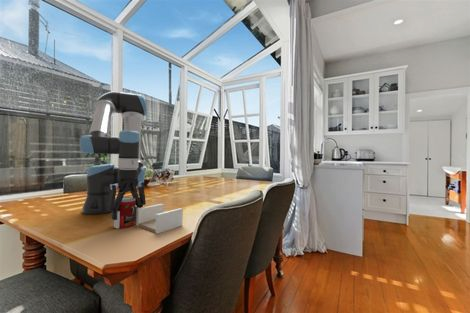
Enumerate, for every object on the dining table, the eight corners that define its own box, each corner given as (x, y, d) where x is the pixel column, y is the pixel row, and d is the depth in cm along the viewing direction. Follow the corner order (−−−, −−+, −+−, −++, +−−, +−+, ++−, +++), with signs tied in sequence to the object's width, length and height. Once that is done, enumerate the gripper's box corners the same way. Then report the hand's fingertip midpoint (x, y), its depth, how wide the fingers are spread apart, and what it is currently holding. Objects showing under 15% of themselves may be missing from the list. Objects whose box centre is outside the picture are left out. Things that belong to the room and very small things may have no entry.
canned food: (126, 229, 86) (127, 201, 86) (109, 227, 87) (109, 199, 87) (139, 223, 93) (139, 197, 93) (123, 221, 95) (123, 196, 95)
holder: (136, 225, 90) (136, 208, 90) (161, 219, 100) (161, 203, 100) (157, 233, 82) (158, 214, 82) (182, 225, 92) (182, 208, 92)
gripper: (106, 170, 79) (104, 234, 79) (155, 168, 96) (154, 221, 96) (96, 169, 83) (95, 229, 83) (145, 167, 100) (144, 217, 100)
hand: (126, 224), depth 89 cm, fingers closed on canned food, 8 cm apart
